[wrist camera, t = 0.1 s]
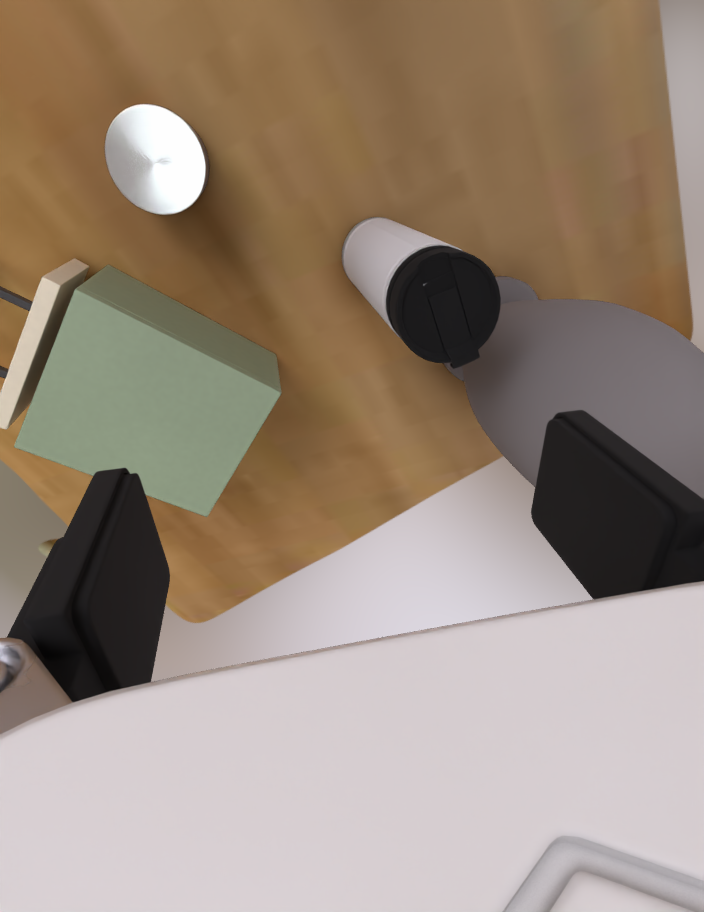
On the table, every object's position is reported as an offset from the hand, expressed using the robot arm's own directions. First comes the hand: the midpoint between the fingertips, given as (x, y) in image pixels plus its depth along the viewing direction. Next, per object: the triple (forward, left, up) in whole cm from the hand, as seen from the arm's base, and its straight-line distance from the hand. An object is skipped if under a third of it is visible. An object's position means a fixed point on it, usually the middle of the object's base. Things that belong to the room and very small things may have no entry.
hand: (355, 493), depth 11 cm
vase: (+19, +12, -37) cm, 43 cm away
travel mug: (+6, +7, -37) cm, 38 cm away
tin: (-10, -2, -37) cm, 39 cm away
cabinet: (+2, -15, -37) cm, 40 cm away
